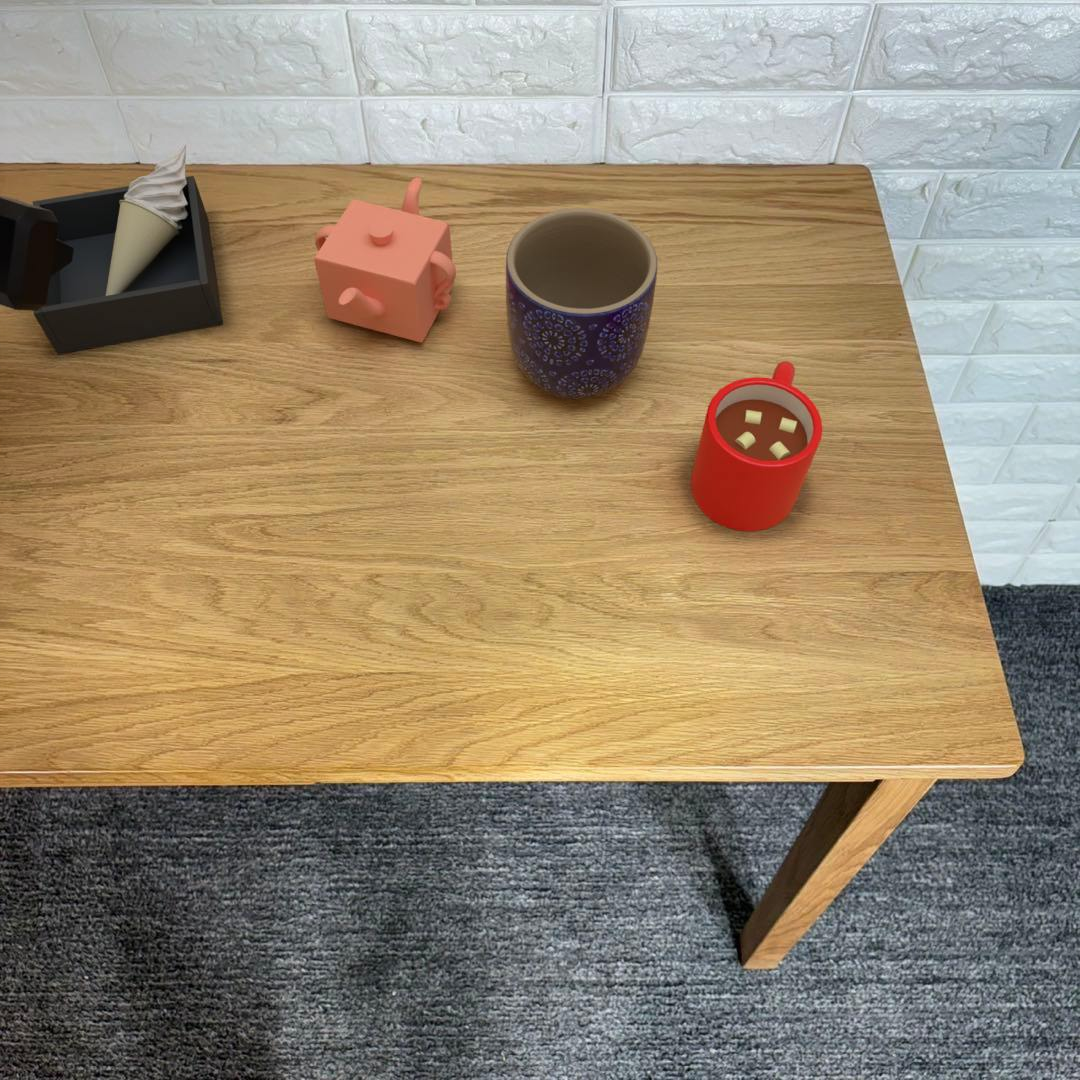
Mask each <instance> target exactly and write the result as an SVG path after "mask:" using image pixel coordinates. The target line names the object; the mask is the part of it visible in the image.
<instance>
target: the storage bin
mask: <svg viewBox="0 0 1080 1080" xmlns="http://www.w3.org/2000/svg"><path fill="white" fill-rule="evenodd" d="M185 178H186V182H187V184H186V185H185V186H184V187H183V189H182V190H183V194H184V196H185V199H186V201H187V203H188V205H186V206H185V209H186V211H187V214H188V216H187V217H186V218H185V219H183V220H180V221H181V225H182V228H181V229H177V230H178V231H179V234H178V235H175V236H174V237H173V238H172V239H171V240H170V242H169V243H168V244H167V245H166V246H165V247H164V248H163V249H162V250H161V251H160V252H159V253H158V254H157V256H156V257H155V258H154V259H153V260H152V261H151V262H150V263H149V264H148V266H147V267H146V268H145V269H144V270H143V271H142V272H141V273H140V274H139V275H138V276H137V277H136V279H135V280H134V281H133V282H132V283H131V284H130V285H129V286H128V287H127V288H126V289H125V290H124V291H123V293H119V294H114V295H108V296H106V290H107V284H108V277H109V271H110V265H111V259H112V252H113V246H114V240H115V234H116V229H117V222H118V216H119V210H120V203H119V201H120V200H125V199H124V195H125V194H126V193H127V192H128V189H129V186H130V185H126V186H119V187H114V188H109V189H101V190H96V191H88V192H83V193H76V194H70V195H63V196H57V197H51V198H45V199H38V200H33V201H32V205H34V206H37V207H41V208H44V209H47V210H50V211H52V212H53V213H54V215H55V217H56V219H57V221H58V229H57V236H56V239H58V240H60V241H62V242H64V243H66V244H68V245H71V246H72V247H73V248H74V252H73V258H72V262H71V263H70V264H68V265H67V266H66V267H64V268H63V269H61V270H60V271H59V272H57V273H56V274H54V275H53V276H52V277H50V282H49V289H48V295H47V302H46V305H45V306H43V307H42V308H41V309H39V310H38V311H32V312H33V315H34V317H35V319H36V321H37V323H38V324H39V325H40V327H41V329H42V331H43V332H44V334H45V336H46V337H47V339H48V341H49V342H50V345H51V346H52V348H53V349H54V352H55V353H56V354H57V355H62V354H67V353H72V352H78V351H85V350H89V349H95V348H99V347H104V346H110V345H111V346H112V345H116V344H122V343H127V342H133V341H138V340H139V341H140V340H144V339H150V338H156V337H161V336H167V335H173V334H177V333H182V332H188V331H194V330H200V329H204V328H205V329H206V328H210V327H215V326H221V325H224V322H223V315H222V308H221V307H222V306H221V300H220V292H219V285H218V279H217V278H218V277H217V272H216V265H215V257H214V250H213V243H212V236H211V229H210V222H209V217H208V213H207V211H206V208H205V204H204V202H203V199H202V196H201V193H200V191H199V187H198V185H197V182H196V179H195V175H188V176H185Z"/></svg>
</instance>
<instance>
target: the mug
mask: <svg viewBox="0 0 1080 1080" xmlns="http://www.w3.org/2000/svg"><path fill="white" fill-rule="evenodd" d="M795 375H796V368H795V366H794V364H793V363H792V362H790V361H786V360H785V361H781V362H779V363H777V365H776V367H775V368H774V370H773V375H772V377H770V378H769V377H759V376H755V377H753V376H752V377H745V378H740V379H737V380H734V381H732V382H729V383H728V384H726V385H724V386H723V387H722V388H721V389H719V390H718V391H717V392H716V393H715V394H714V396H713V397H712V398H711V400H710V401H709V403H708V406H707V410H706V414H705V418H704V421H703V426H702V430H701V433H700V438H699V442H698V446H697V451H696V455H695V459H694V463H693V466H692V467H693V468H692V472H691V475H690V490H691V493H692V497H693V499H694V501H695V503H696V505H697V506H698V508H699V509H700V510H701V511H702V513H703V514H705V516H706V517H708V518H709V519H710V520H712V521H714V522H716V523H717V524H719V525H720V526H723V527H725V528H728V529H731V530H736V531H741V532H757V531H763V530H767V529H770V528H773V527H774V526H776V525H778V524H780V523H781V522H783V521H784V520H785V519H786V518H787V517H788V516H789V515H790V513H791V512H792V511H793V509H794V506H795V504H796V502H797V499H798V497H799V495H800V492H801V489H802V487H803V485H804V482H805V479H806V477H807V475H808V472H809V470H810V468H811V465H812V463H813V460H814V458H815V456H816V453H817V450H818V448H819V445H820V443H821V441H822V438H823V431H824V429H823V428H824V427H823V421H822V417H821V414H820V412H819V411H820V410H818V408H817V405H815V403H814V402H813V400H811V399H810V397H808V395H807V394H806V393H804V392H802V391H801V389H799V388H797V387H795V386H794V385H793V382H794V377H795Z"/></svg>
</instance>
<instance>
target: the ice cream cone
mask: <svg viewBox="0 0 1080 1080" xmlns="http://www.w3.org/2000/svg"><path fill="white" fill-rule="evenodd" d="M186 152H187V145H186V144H184V145H183V146H182V147H181V148H180V149H178V150H177V152H175V153H174V154H173V155H171V156H170V157H169V158H168V159H166V160H164V161H162V162H159V163H157V164H155V166H154V167H155V168H154V170H153V171H151V173H149V174H147V175H142V176H139V177H137V178H136V179H134V180H133V181H131V182H130V183H129V185H128V186H129V189H128V192H127V193H126V194H125V195H124V199H125V200H120V201H119V203H120V210H119V216H118V222H117V229H116V234H115V240H114V246H113V252H112V259H111V265H110V271H109V277H108V284H107V290H106V296H108V295H114V294H119V293H123V291H124V290H125V289H126V288H127V287H128V286H129V285H130V284H131V283H132V282H133V281H134V280H135V279H136V277H137V276H138V275H139V274H140V273H141V272H142V271H143V270H144V269H145V268H146V267H147V266H148V264H149V263H150V262H151V261H152V260H153V259H154V258H155V257H156V256H157V254H158V253H159V252H160V251H161V250H162V249H163V248H164V247H165V246H166V245H167V244H168V243H169V242H170V240H171V239H172V238H173V237H174V236H175V235H178V234H179V231H178V230H177V229H181V228H182V225H181V221H180V220H183V219H185V218H186V217H187V216H188V214H187V211H186V209H185V206H186V205H188V203H187V201H186V199H185V196H184V194H183V190H182V189H183V187H184V186H185V185H186V184H187V182H186V178H185V177H186V158H187V157H186V156H187V155H186V154H187V153H186Z"/></svg>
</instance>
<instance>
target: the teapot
mask: <svg viewBox="0 0 1080 1080" xmlns="http://www.w3.org/2000/svg"><path fill="white" fill-rule="evenodd" d="M422 184H423V180H422V178H421V177H419V176H417V177H414V178H413V179H412V180H411V181H409V184H408V186H407V188H406V191H405V193H404V198H403V201H402V205H401V209H400V210H399V209H396V208H395V209H394V208H391V207H387V206H383V205H379V204H374V203H370V202H367V201H362V200H357V199H351V202H350V203H349V205H348V206H347V207H346V209H345V210H344V212H343V213H342V215H341V217H340V218H339V219H338V221H337V222H336V224H335V225H333V224H330V225H325V226H323V227H322V228H320V229H319V230H318V231H317V234H316V236H315V239H314V244H315V247H316V249H317V251H318V252H317V253H316V255H315V256H314V258H313V261H314V265H315V269H316V273H317V277H318V282H319V286H320V290H321V296H322V299H323V303H324V307H325V311H326V315H327V316H326V317H327V318H329V319H332V320H336V321H339V322H344V323H348V324H350V325H354V326H358V327H362V328H366V329H369V330H371V331H376V332H380V333H384V334H387V335H391V336H395V337H398V338H399V337H400V338H403V339H407V340H410V341H414V342H418V343H421V344H422V343H423V342H424V340H425V339H426V336H427V335H428V333H429V331H430V329H431V327H432V326H433V324H434V322H435V320H436V318H437V317H438V315H439V313H440V311H445V310H446V309H448V308H449V307H450V306H451V304H452V297H451V295H450V292H451V290H452V289H453V286H454V285H455V279H456V277H457V268H456V265H455V263H454V262H453V253H452V251H453V250H452V240H451V239H452V238H451V227H450V223H449V222H446V221H442V220H439V219H434V218H431V217H427V216H423V215H421V214H420V207H419V199H420V192H421V188H422Z"/></svg>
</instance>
